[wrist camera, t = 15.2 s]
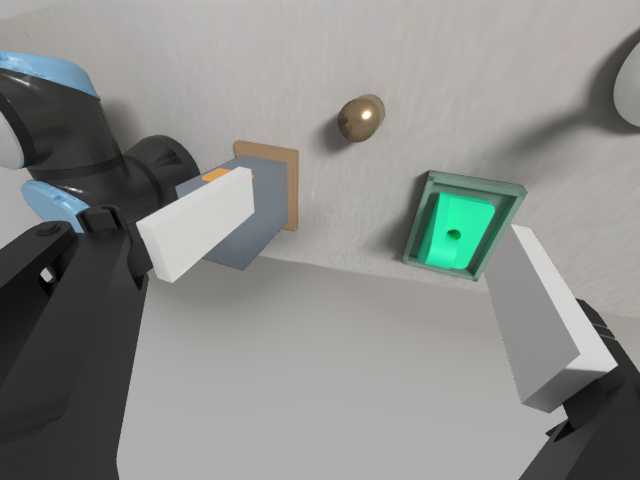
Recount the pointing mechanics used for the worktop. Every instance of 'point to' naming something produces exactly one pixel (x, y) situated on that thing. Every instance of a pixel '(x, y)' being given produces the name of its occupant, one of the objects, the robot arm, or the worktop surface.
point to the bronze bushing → (361, 117)
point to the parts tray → (505, 205)
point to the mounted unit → (256, 200)
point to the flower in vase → (629, 88)
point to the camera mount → (456, 215)
